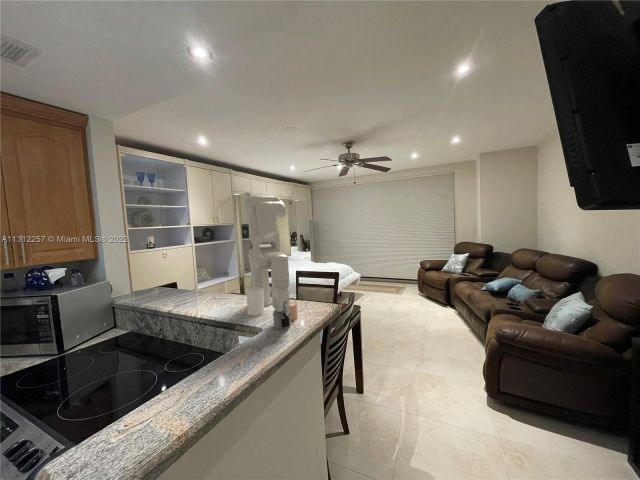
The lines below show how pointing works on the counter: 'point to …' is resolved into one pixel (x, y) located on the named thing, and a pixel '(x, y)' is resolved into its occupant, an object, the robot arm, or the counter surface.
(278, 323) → the cup charcoal
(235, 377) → the counter surface
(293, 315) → the cup terracotta
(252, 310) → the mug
